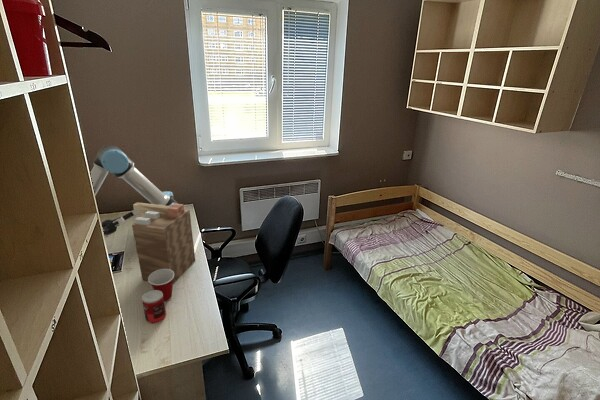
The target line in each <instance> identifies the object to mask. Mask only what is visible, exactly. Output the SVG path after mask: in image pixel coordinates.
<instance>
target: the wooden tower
mask: <svg viewBox="0 0 600 400" xmlns="http://www.w3.org/2000/svg"><path fill="white" fill-rule="evenodd" d="M159 214H160V217H159V218H158V219H152V218H150V221H151V224H149V225H148V226H147V225H139V224H136V223H135V222H134V223H133V224H131V228H132V231H133V238H134V243H135V249H136V254H137V259H138V263H139V269H140V274H141V280H142V282H143V281H145V282H149V281H148V277H149V275H150V274H151V273H152V272H154V271H156V270H160V269H170V270H172V271H173V272H174V278H173V285H174V284H175V283H176V282H177V281H178V280H179V279H180V278H181V277H182V275H184V273H185V272H187V271H188V269H189V268H190V267H191V266H192V265H193V264H194V263H195V262H196V255H195V245H194V238H193V237H194V236H193V229H192V220H191V211H190V209H186V208H184V213H182V214H181V215H180V216H178V217H174V216H168V214H162V213H159ZM143 218H146V217H145V216H144V217H143Z"/></svg>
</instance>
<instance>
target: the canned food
mask: <svg viewBox="0 0 600 400" xmlns="http://www.w3.org/2000/svg"><path fill="white" fill-rule="evenodd" d="M141 302H142V308H143V312H144V318H145V321H147V322H148V324H158V323H160V322H162V321H163V320H164V319H165V318H166V315H167V312H166V305H165V302H164V298H163V293H162V292H161V291H159V290H154V289H152V290H148V291H147V292H145V293H144V294H143V295H142V296H141Z"/></svg>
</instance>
